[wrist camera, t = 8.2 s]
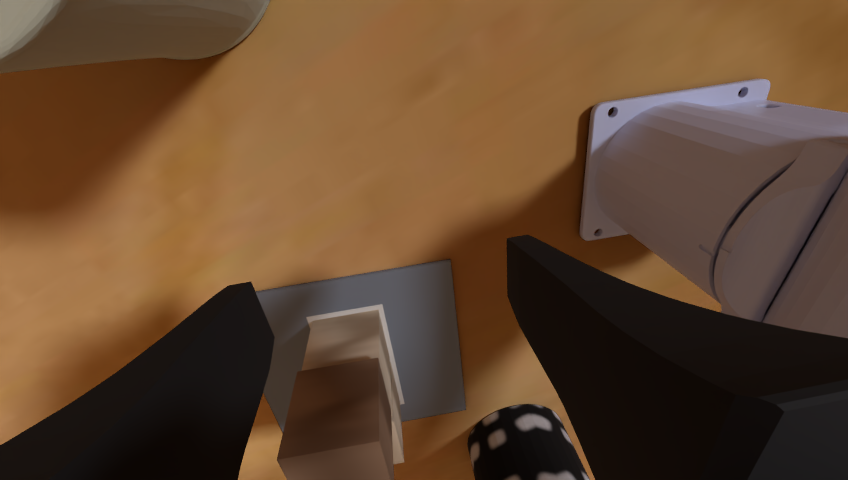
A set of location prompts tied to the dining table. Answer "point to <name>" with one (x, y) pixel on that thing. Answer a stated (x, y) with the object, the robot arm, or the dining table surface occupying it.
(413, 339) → the mat
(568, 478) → the spotted tube
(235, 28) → the can
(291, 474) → the walnut block
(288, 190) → the dining table surface
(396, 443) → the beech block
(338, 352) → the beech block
